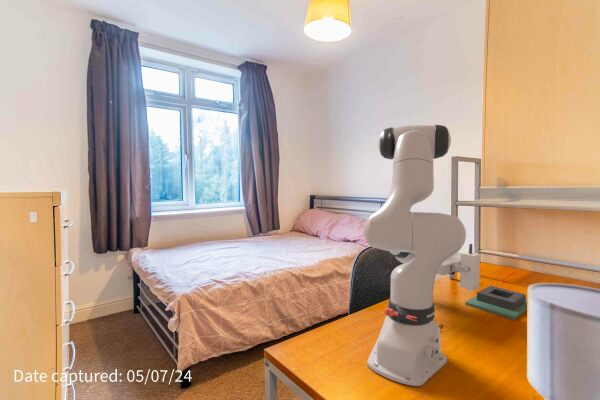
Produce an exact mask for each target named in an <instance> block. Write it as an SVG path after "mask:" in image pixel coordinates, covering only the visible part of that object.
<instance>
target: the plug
mask: <svg viewBox="0 0 600 400" xmlns="http://www.w3.org/2000/svg"><path fill="white" fill-rule="evenodd" d="M460 253H461V266H467V267H470V271H469V272H467V273H466V272H459V279H460V280H459V288H461V289H465V290H468V291H472V292H475V290H478V289H479V288H480V274H481V273H480V272H481V271H480V269H481V253H477V252H473V244H472V243H469V244H468V251H464V252H460Z"/></svg>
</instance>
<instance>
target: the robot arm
mask: <svg viewBox="0 0 600 400" xmlns="http://www.w3.org/2000/svg"><path fill="white" fill-rule="evenodd" d="M378 137H379V138H378V141H377V148H378V150H379V153H380V156H381V157H382V158H384V159H387V160H392V161H393V163H392V181H391V188H390V191H389V194H388V197H387V199H386V200H385V202H384V203H383V205H381V207H379V209H377V210H376V211H375V212H373V213H371V214H370V215H369V216H368V218H367V219H366V221H365V223H364V225H363V234H364V235H363V236H364V237H365V240H366V242H367V244H368V246H369V247H371V248H374V249H378V250H382V251H387V252H388V253H389V254H390V255H392V256H393V257H395V259H396V260H397V261H398V262H400V263H401V264H400V265H397V266H396V267H395V268H393V270H392V271H391V274H390V297H389V298H388V303H387V307H385V310H384V315H385V318H384V321H383V324H382V326H381V330H380V333H379V336H378V337H377V340H376V342H375V344H374V346H373V348H372V349H371V352H370V354H369V357H368V359H367V363H366V365H367V367H368V368H370V369H371V370H372V371H373V372H375V373H376V374H378V375H381V376H382V377H384V378H387V379H389V380H391V381H394V382H397V383H400V384H404V385H407V386H413V387H422V386H423V385H424V384H425V383H426V382H428V380H429V379H430V378H432V377H433V376H434V375H435V374H436V373H438V371H439V370H440V369H441V368H442V367H444V366H445V365H446V364H447V363H448V357H447V356H446V354H444V353H443V352H442V351H441V350H442V349H441V345H442V343H441V329H440V326H438V324H437V322H436V321H435V314H436V308H435V303H434V300H433V299H434V289H435V282H436V281H435V280H436V275H437V274H438V275H439V276H440V275H441V276H448V275H449V273H452V272H454V271H455V273H456V272H458V273H460V272H466V273H467V272H469V271H470V267H467V266H461V253H462V252H459V251H461V249H462V248H463V246H465V245H464V244H465V242H466V239H467V232H466V227H465V226H464V224H463V223H464V222H462V221H461V219H460V218H459V217H458V216H455V215H452V214H445V213H440V212H422V211H421V212H420V211H419V212H417V211H411V209H412V207H413V206H414V205H416V204H418V203H420V202H422V201H425V200H426V199H428V198H429V197H430V196H431V195H432V194H433V192H434V188H435V186H434V182H435V181H434V160H436V159H439V158H442V157H444V156H446V154H448V151H449V150H450V147H451V144H452V138H451V133H450V131H449V129H448V127H446V126H445V125H442V124H441V125H440V124H434V125H430V124H429V125H427V124H425V125H423V124H422V125H421V124H417V125H416V124H415V125H413V124H411V125H402V126H396V127H392V126H391V127H388V128H385V129H383V130H382V131H381V132H380V136H378Z"/></svg>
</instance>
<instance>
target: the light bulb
mask: <svg viewBox="0 0 600 400" xmlns="http://www.w3.org/2000/svg"><path fill="white" fill-rule="evenodd" d="M455 274H456V272H455V271H454V272H452V273H449V274H448V278H449V279H450V280H453V279H455Z"/></svg>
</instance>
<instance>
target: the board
mask: <svg viewBox="0 0 600 400" xmlns="http://www.w3.org/2000/svg"><path fill="white" fill-rule="evenodd" d="M527 298H528V297H527V294H526V293H523V292H518V291H514V290H511V289H507V288H503V287H499V286H494V285H488V286H486V287H484V288H483V289H481V290H479V291H477V292H476V295H475V296H474V297H472V298H470V299H468V300H466V301H465V302H464V305H465V306H469V307H472V308H475V309H478V310H481V311H485V312H488V313H490V314H494V315H497V316H500V317H504V318H506V319H510V320H513V321H515V320H517V319H518V318H519V317H521V316H522V315H523V314H524V313H526V312H527V311H528V310H527Z"/></svg>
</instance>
